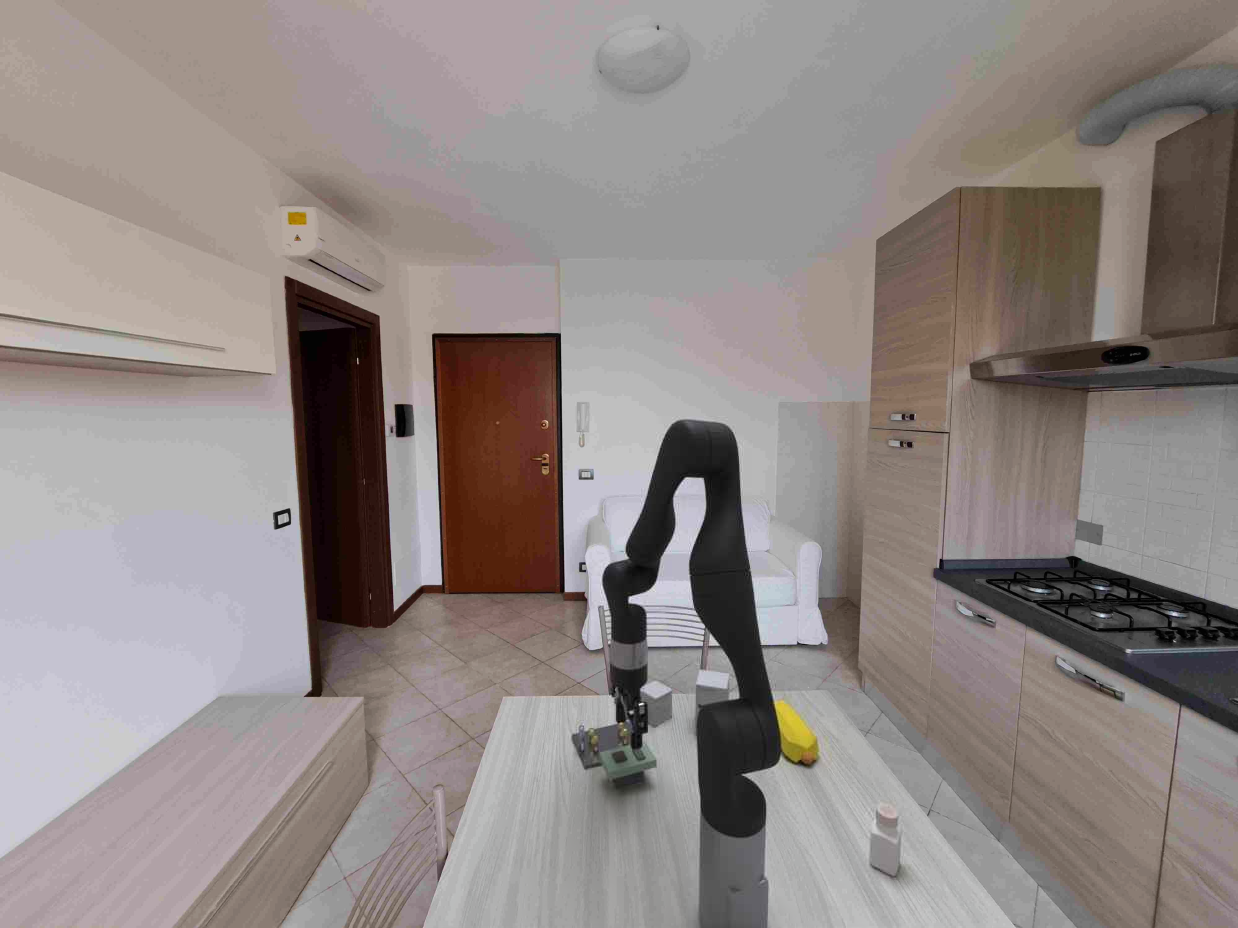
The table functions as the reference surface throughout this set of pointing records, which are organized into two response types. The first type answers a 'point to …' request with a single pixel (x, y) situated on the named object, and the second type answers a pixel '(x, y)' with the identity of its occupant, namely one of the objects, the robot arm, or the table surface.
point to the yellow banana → (795, 735)
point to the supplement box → (710, 689)
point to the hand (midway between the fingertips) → (628, 734)
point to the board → (627, 761)
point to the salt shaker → (885, 840)
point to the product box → (657, 702)
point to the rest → (628, 780)
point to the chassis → (600, 741)
